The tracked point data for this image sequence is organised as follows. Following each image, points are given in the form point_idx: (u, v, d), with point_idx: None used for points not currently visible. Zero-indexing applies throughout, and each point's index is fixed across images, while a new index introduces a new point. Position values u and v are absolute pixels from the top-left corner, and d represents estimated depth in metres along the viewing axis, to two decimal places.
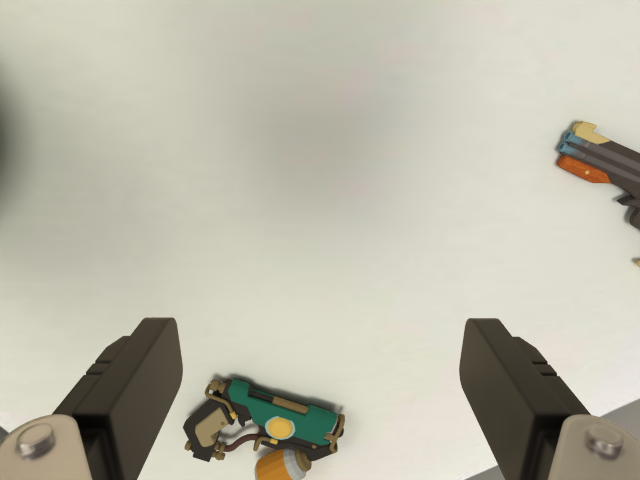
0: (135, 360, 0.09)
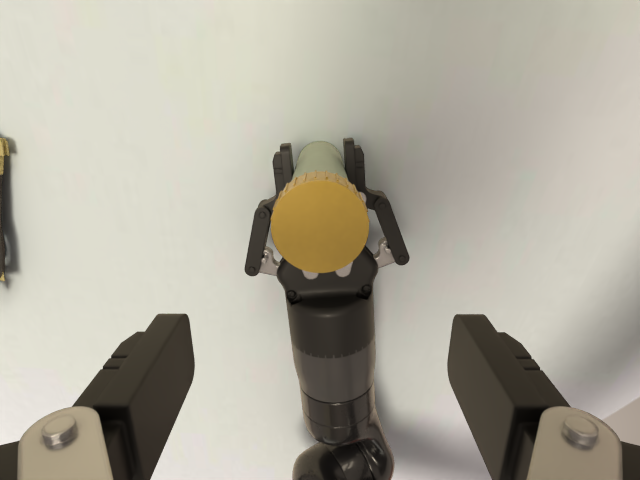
0: (151, 355, 0.09)
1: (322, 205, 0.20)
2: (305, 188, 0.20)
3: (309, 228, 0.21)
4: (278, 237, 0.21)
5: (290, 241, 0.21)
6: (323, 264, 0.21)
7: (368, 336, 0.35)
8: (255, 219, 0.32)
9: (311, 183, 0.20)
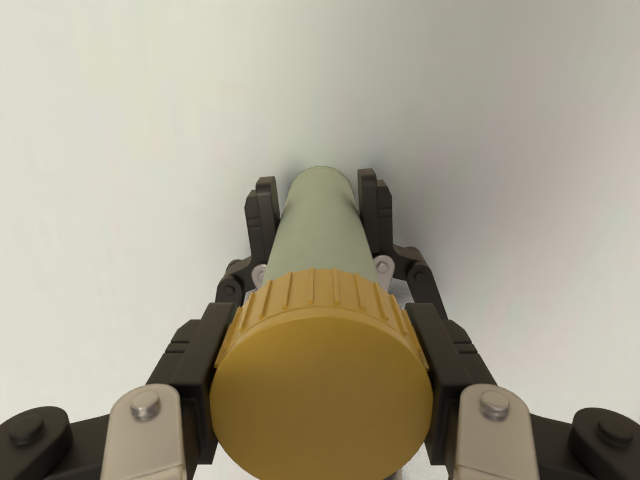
0: (212, 339, 0.10)
1: (327, 368, 0.09)
2: (286, 333, 0.08)
3: (297, 413, 0.09)
4: (226, 430, 0.09)
5: (254, 438, 0.09)
6: (329, 479, 0.10)
7: None
8: (218, 296, 0.20)
9: (300, 322, 0.08)
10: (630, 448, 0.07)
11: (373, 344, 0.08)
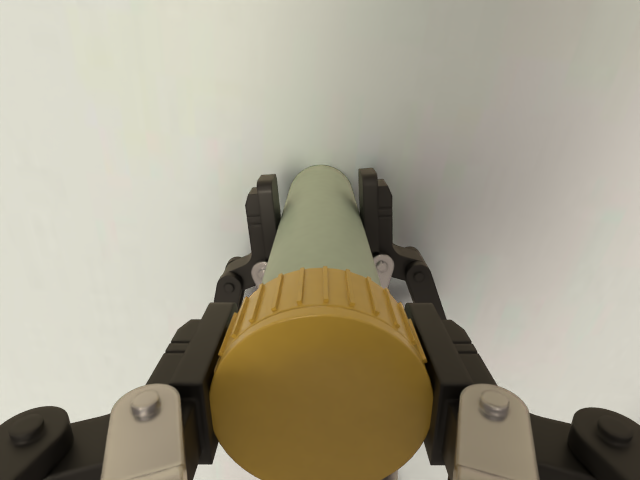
0: (213, 339, 0.10)
1: (269, 393, 0.09)
2: (220, 411, 0.09)
3: (312, 430, 0.09)
4: None
5: (326, 469, 0.10)
6: (406, 431, 0.09)
7: None
8: (218, 293, 0.20)
9: (213, 397, 0.09)
10: (630, 448, 0.07)
11: (257, 350, 0.08)
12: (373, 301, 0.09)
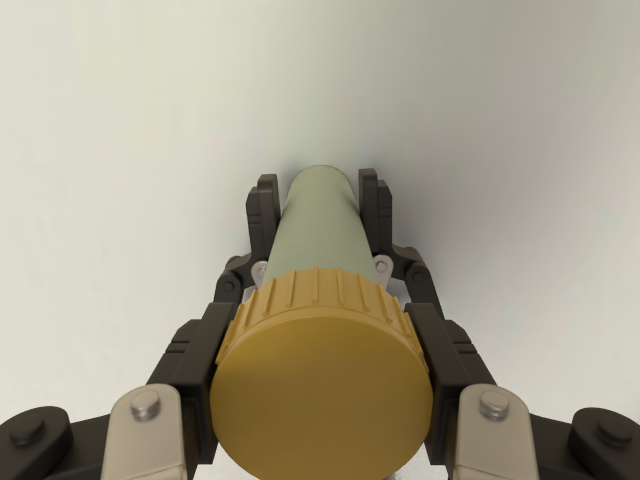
0: (213, 339, 0.10)
1: (282, 442, 0.09)
2: None
3: (338, 426, 0.09)
4: (404, 448, 0.09)
5: (392, 430, 0.09)
6: (377, 351, 0.08)
7: None
8: (218, 292, 0.20)
9: None
10: (629, 448, 0.07)
11: (233, 436, 0.09)
12: (244, 317, 0.09)
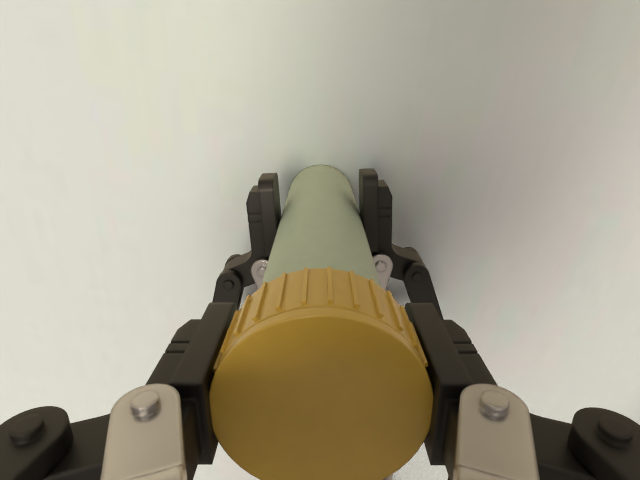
0: (212, 339, 0.10)
1: (342, 452, 0.09)
2: (391, 464, 0.10)
3: (342, 405, 0.09)
4: (399, 359, 0.09)
5: (368, 363, 0.09)
6: (267, 351, 0.08)
7: None
8: (217, 290, 0.20)
9: (384, 474, 0.10)
10: (630, 448, 0.07)
11: None
12: None
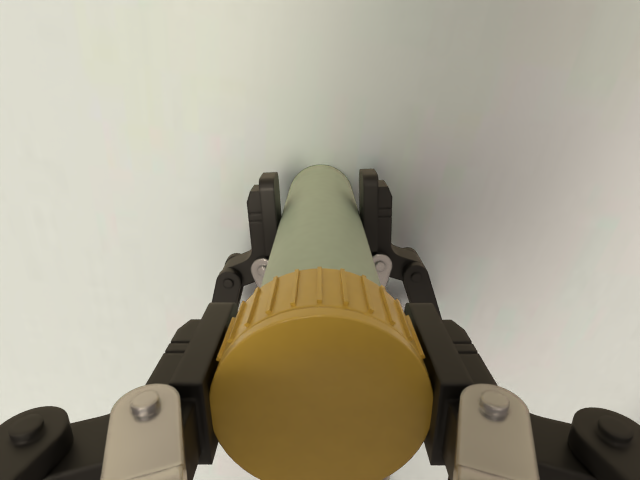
0: (213, 339, 0.10)
1: (377, 411, 0.09)
2: (413, 376, 0.09)
3: (318, 394, 0.09)
4: (283, 335, 0.08)
5: (278, 361, 0.09)
6: (235, 430, 0.09)
7: None
8: (217, 289, 0.20)
9: (425, 385, 0.09)
10: (630, 448, 0.07)
11: (406, 441, 0.09)
12: None
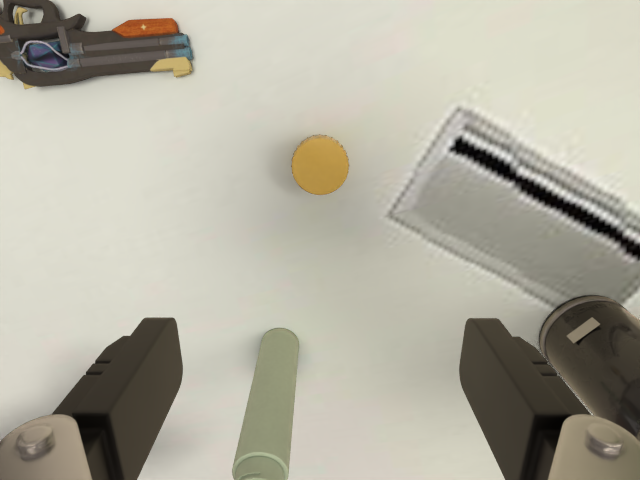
0: (135, 360, 0.09)
1: (334, 166, 0.36)
2: (342, 155, 0.36)
3: (319, 161, 0.36)
4: (311, 143, 0.35)
5: (309, 151, 0.35)
6: (298, 172, 0.36)
7: None
8: None
9: (345, 158, 0.36)
10: None
11: (342, 176, 0.36)
12: None
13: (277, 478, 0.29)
